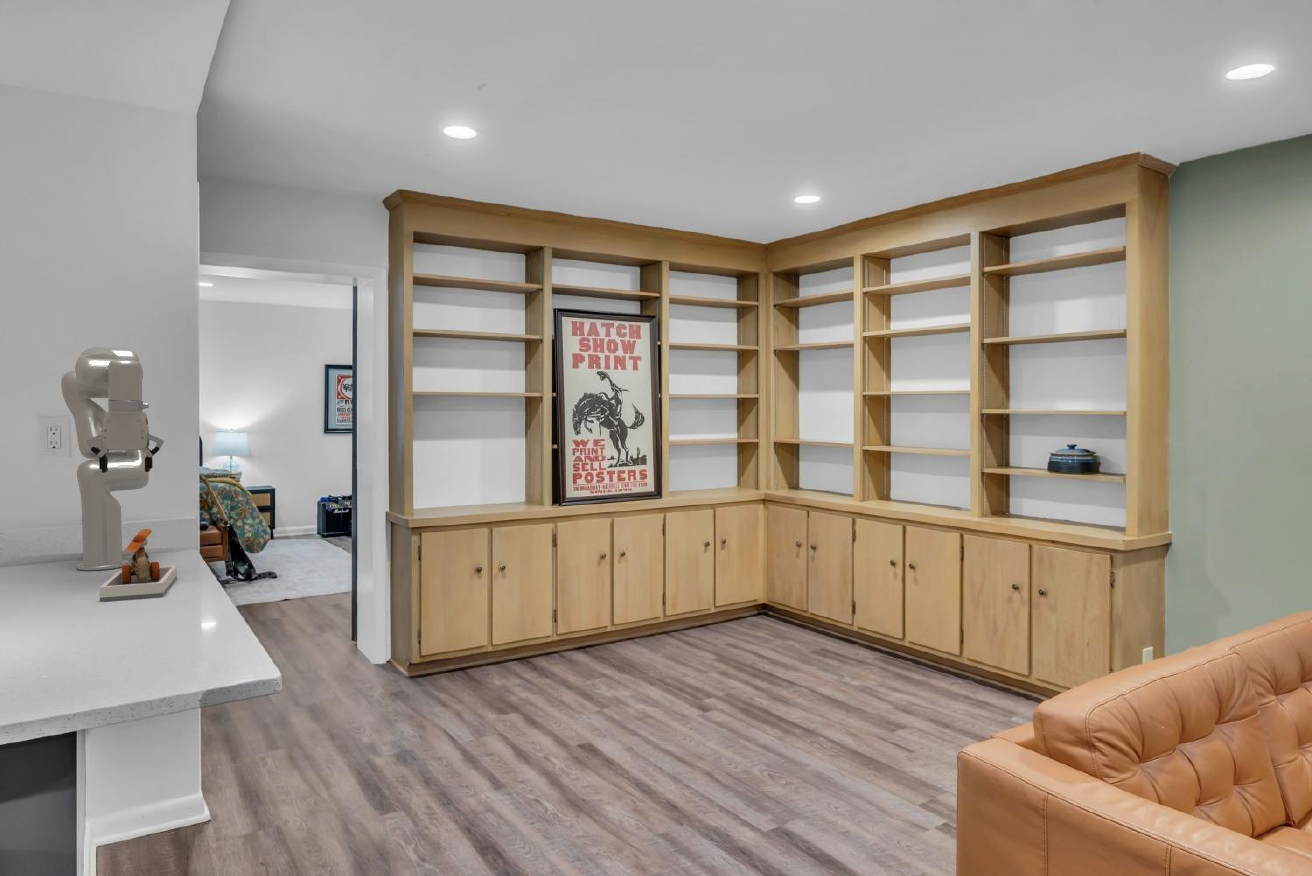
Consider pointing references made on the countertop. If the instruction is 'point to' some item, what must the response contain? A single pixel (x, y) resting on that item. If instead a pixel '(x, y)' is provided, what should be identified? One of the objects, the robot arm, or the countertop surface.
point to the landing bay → (137, 586)
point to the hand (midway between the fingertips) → (126, 471)
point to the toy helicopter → (140, 561)
